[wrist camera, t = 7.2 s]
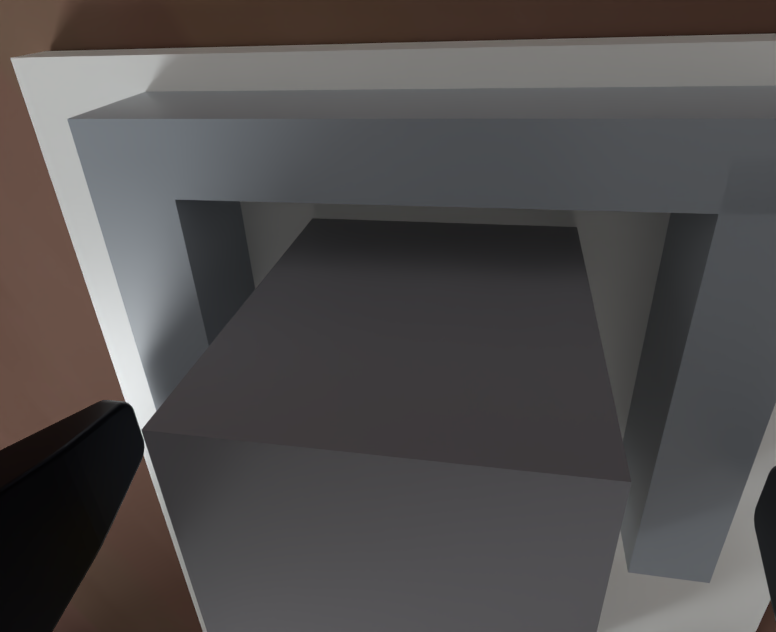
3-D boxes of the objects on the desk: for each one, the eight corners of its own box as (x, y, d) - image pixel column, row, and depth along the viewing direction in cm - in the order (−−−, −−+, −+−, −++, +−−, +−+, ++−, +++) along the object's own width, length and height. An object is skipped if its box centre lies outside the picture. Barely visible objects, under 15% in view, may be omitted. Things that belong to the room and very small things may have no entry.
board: (685, 734, 16) (727, 930, 13) (230, 654, 18) (168, 802, 15) (981, 27, 7) (1347, 81, 4) (46, 51, 10) (-191, 96, 6)
